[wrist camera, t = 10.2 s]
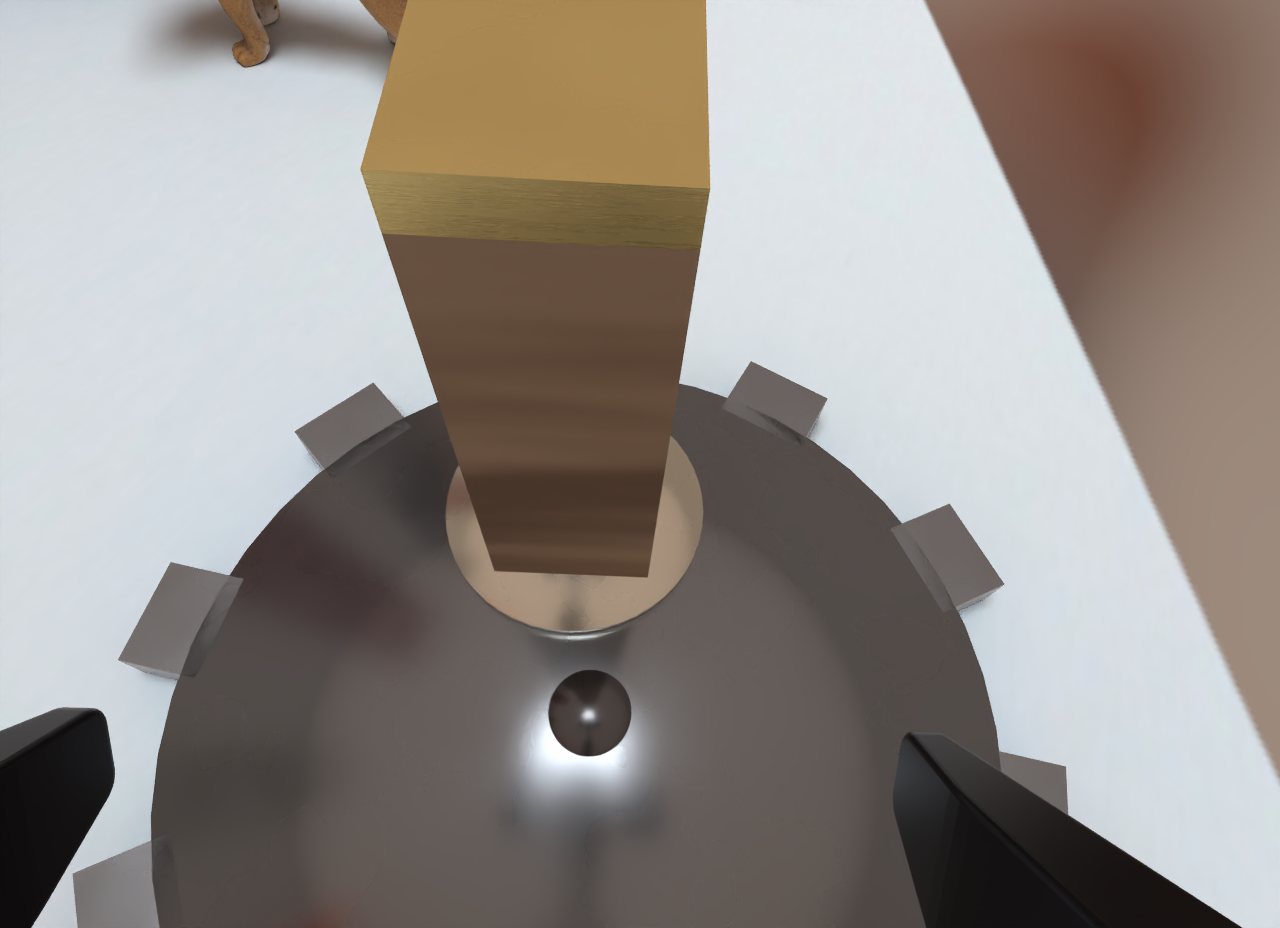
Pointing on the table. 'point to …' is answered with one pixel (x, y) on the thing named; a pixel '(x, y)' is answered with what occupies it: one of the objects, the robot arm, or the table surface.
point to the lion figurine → (258, 6)
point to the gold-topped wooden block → (549, 255)
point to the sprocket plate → (557, 698)
